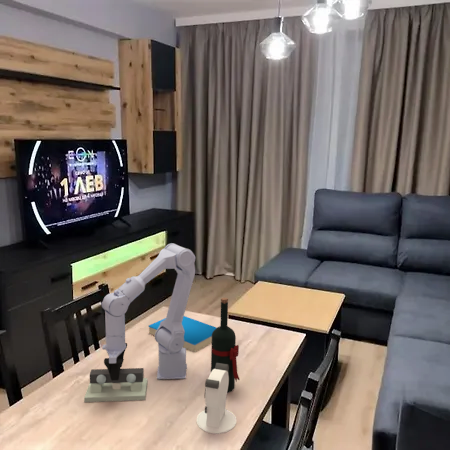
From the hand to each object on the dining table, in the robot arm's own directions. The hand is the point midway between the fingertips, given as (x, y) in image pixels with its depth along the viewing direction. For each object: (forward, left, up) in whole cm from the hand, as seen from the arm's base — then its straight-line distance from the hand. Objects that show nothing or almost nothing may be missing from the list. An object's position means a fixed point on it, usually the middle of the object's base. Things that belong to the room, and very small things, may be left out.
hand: (116, 373), depth 139 cm
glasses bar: (0, 0, -2) cm, 2 cm away
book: (-22, -39, -7) cm, 45 cm away
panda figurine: (-30, +16, -7) cm, 35 cm away
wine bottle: (-34, 0, -7) cm, 35 cm away
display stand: (0, 0, -6) cm, 6 cm away
